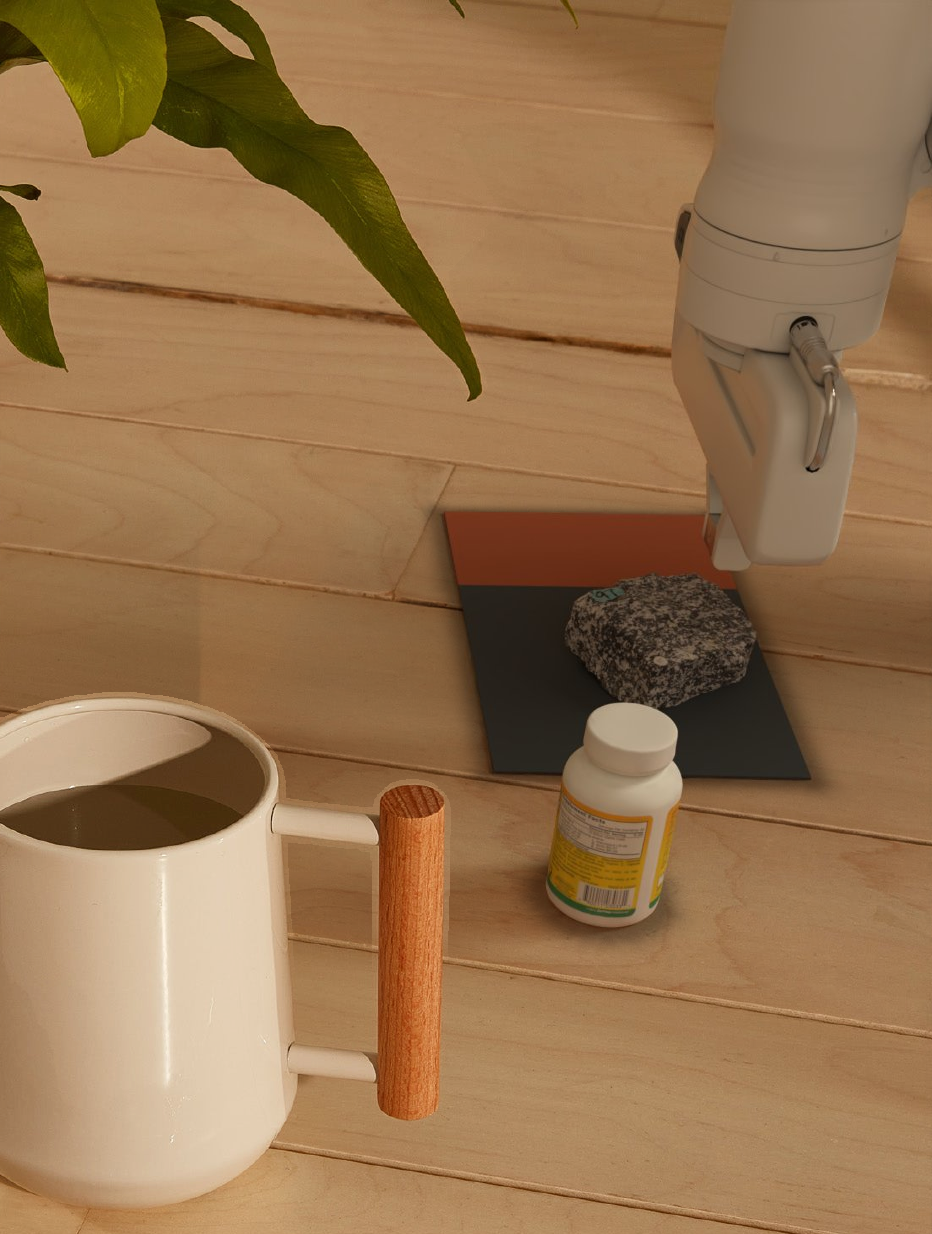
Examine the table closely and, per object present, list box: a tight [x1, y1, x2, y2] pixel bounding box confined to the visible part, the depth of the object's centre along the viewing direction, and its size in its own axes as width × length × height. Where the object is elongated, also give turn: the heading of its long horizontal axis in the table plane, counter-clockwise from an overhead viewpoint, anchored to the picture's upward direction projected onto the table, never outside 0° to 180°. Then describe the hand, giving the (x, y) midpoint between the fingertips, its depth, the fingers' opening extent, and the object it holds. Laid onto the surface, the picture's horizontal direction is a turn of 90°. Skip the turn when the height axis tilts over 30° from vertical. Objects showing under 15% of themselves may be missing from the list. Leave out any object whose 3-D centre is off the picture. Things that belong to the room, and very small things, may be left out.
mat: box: [443, 510, 812, 781], centre depth 121 cm, size 16×28×1 cm, turn 177°
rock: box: [565, 573, 757, 710], centre depth 117 cm, size 8×10×4 cm
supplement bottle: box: [545, 703, 683, 928], centre depth 99 cm, size 5×5×10 cm
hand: (724, 555), depth 103 cm, fingers closed
